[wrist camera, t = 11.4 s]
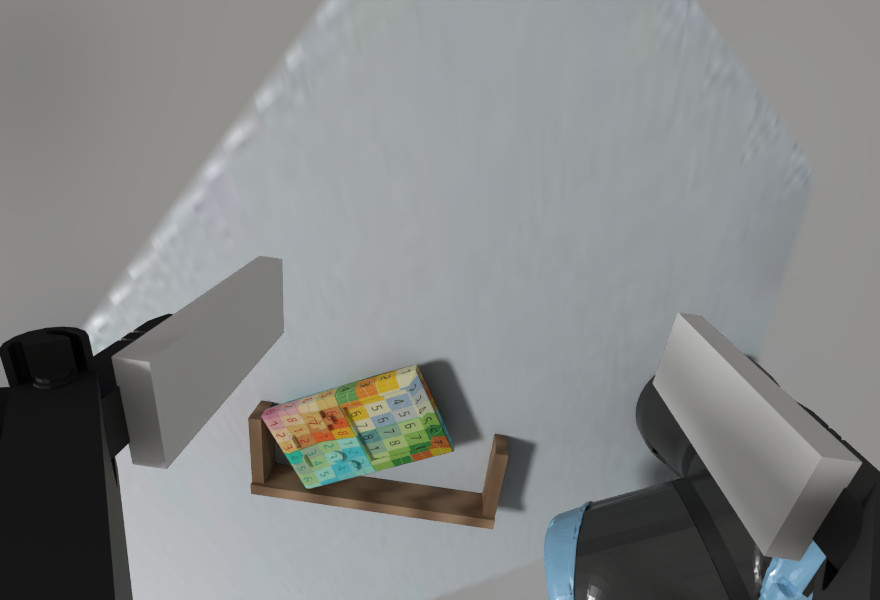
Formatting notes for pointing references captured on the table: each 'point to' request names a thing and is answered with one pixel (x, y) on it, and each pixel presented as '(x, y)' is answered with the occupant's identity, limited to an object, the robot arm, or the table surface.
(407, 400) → the puzzle game
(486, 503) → the frame
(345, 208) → the table surface
